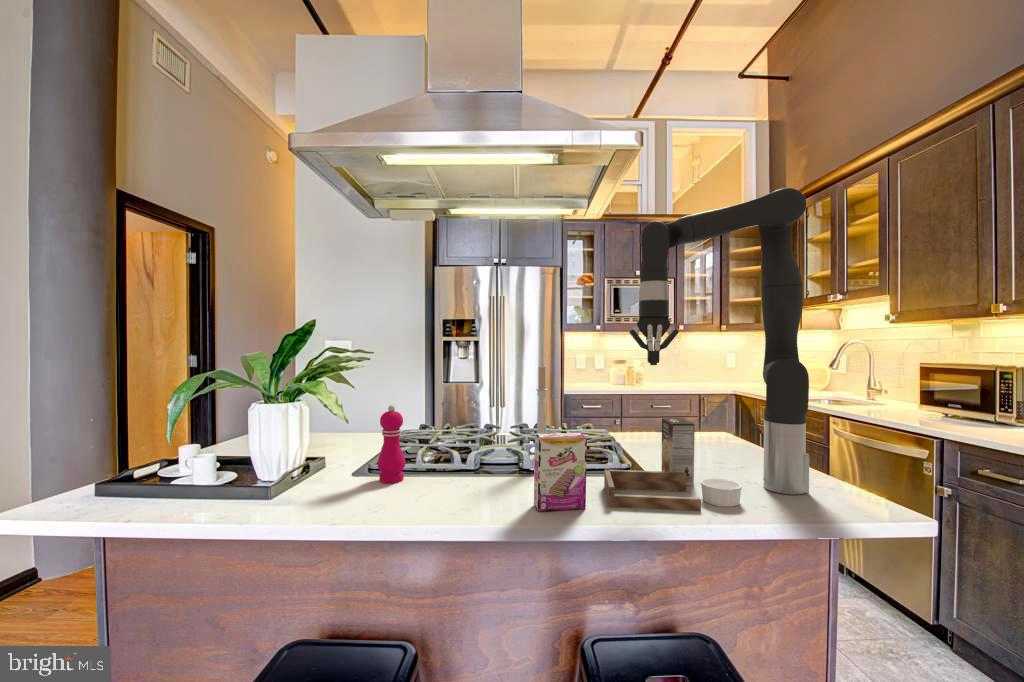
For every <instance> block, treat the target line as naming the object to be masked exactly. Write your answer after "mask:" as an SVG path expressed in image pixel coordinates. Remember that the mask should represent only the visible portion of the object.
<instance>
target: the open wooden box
mask: <svg viewBox="0 0 1024 682" xmlns="http://www.w3.org/2000/svg"><path fill="white" fill-rule="evenodd" d="M603 471H604V472H603V473H604V475H603V478H604V479H603V480H604V481H603V485H604V486H603V488H604V491H605V496H606V501H607V504H608V507H609V508H610V507H611V508H631V509H632V508H633V509H650V510H651V509H655V510H672V511H673V510H674V511H702V499H701V498H700V497H695V496H694V497H693V496H690V497H689V496H671V495H670V496H668V495H667V496H666V495H665V496H664V495H644V494H643V495H641V494H617V493H615V490H634V491H635V490H636V491H638V490H639V491H660V492H661V491H663V492H687V485H686V476H687V474H686V472H664V471H662V470H661V471H660V470H659V471H658V470H657V471H656V470H635V469H634V470H632V469H631V470H630V469H627V470H626V469H604V470H603Z"/></svg>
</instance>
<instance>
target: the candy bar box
mask: <svg viewBox="0 0 1024 682" xmlns="http://www.w3.org/2000/svg"><path fill="white" fill-rule="evenodd" d="M587 448H588V437H587V436H586V435H584V434H583V433H581V432H562V433H560V432H559V433H557V432H556V433H554V432H553V433H552V432H551V433H547V434H537V433H535V434H534V456H535V457H534V472H533V473H534V475H533V505H534V506H535V508H536V511H538V512H552V511H556V512H557V511H570V510H571V511H572V510H573V511H574V510H586V506H587V505H586V503H587V499H586V498H587V455H588V454H587V452H588V451H587Z"/></svg>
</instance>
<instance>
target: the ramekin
mask: <svg viewBox="0 0 1024 682" xmlns="http://www.w3.org/2000/svg"><path fill="white" fill-rule="evenodd" d="M700 485H701V493H702V494H701V495H702V500H703V501H704V502H705V503H707V504H710V505H711V506H717V507H721V508H722V507H723V508H730V507H732V508H733V507H736V506H738V505H739V504H740V503H741V494H742V492H741V491H742V487H743V485H742V484H741V483H739V482H737V481H734V480H729V479H726V478H712V477H711V478H709V477H708V478H703V479H702V480H700Z"/></svg>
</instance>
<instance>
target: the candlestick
mask: <svg viewBox="0 0 1024 682" xmlns="http://www.w3.org/2000/svg"><path fill="white" fill-rule="evenodd" d="M548 390H549V389H548V388H546V366H538V388H536V391H537V396H538V398H539V399H538V405H537V409H538V410H537V424H536V427H537V428H536V434H548V433H547V432H548V431H547V412H546V411H547V409H546V401H545V398H546V396H547V391H548ZM529 457H530V460H531V464H532V465H533V466H534V457H535V455H534V456H529ZM521 466H522V463H521V462H520V464H519V467H520V468H521Z"/></svg>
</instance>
